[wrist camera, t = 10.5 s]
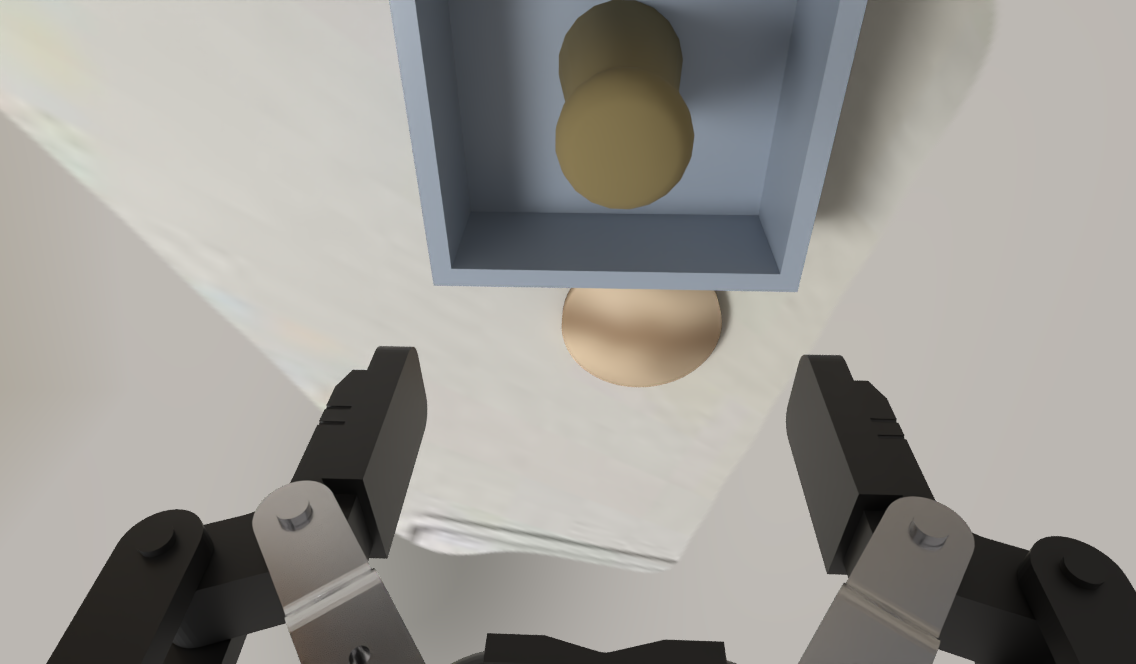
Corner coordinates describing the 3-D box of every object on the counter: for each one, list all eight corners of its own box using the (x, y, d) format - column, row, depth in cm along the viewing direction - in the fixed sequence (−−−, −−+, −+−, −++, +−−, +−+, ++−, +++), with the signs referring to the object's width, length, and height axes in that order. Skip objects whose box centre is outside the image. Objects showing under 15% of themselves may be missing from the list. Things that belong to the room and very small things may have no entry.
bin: (411, -165, 28) (364, -159, 23) (846, -169, 27) (907, -165, 22) (458, 218, 39) (434, 285, 34) (769, 222, 38) (797, 292, 33)
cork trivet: (561, 249, 40) (560, 258, 39) (729, 252, 40) (732, 261, 39) (563, 375, 46) (562, 385, 46) (709, 378, 46) (711, 389, 45)
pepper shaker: (708, 41, 32) (746, 127, 23) (640, 148, 35) (651, 258, 26) (596, -28, 30) (593, 37, 21) (536, 91, 34) (512, 189, 25)
